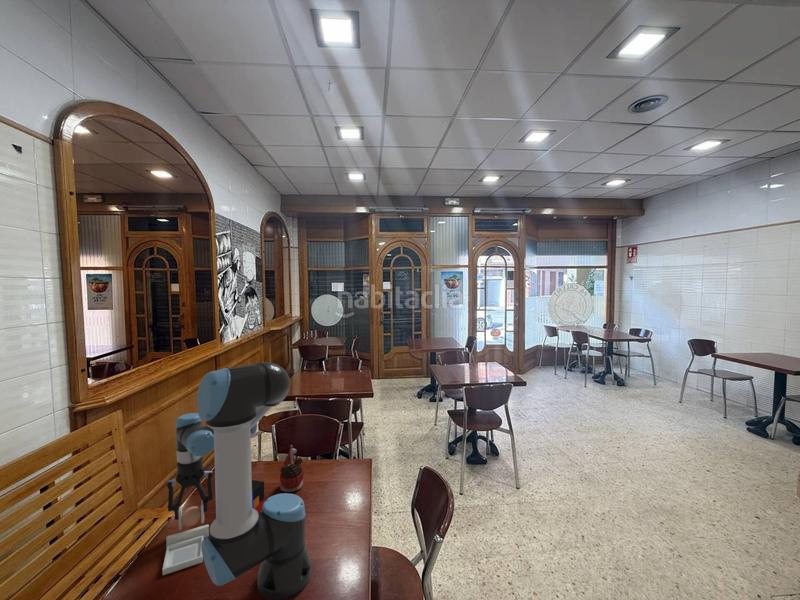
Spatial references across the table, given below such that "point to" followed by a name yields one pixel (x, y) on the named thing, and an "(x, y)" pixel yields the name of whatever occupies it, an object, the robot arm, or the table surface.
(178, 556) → the light gray square tray
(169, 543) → the low wall
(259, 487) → the puzzle toy
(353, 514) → the table surface
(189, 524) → the ball
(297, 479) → the cake
